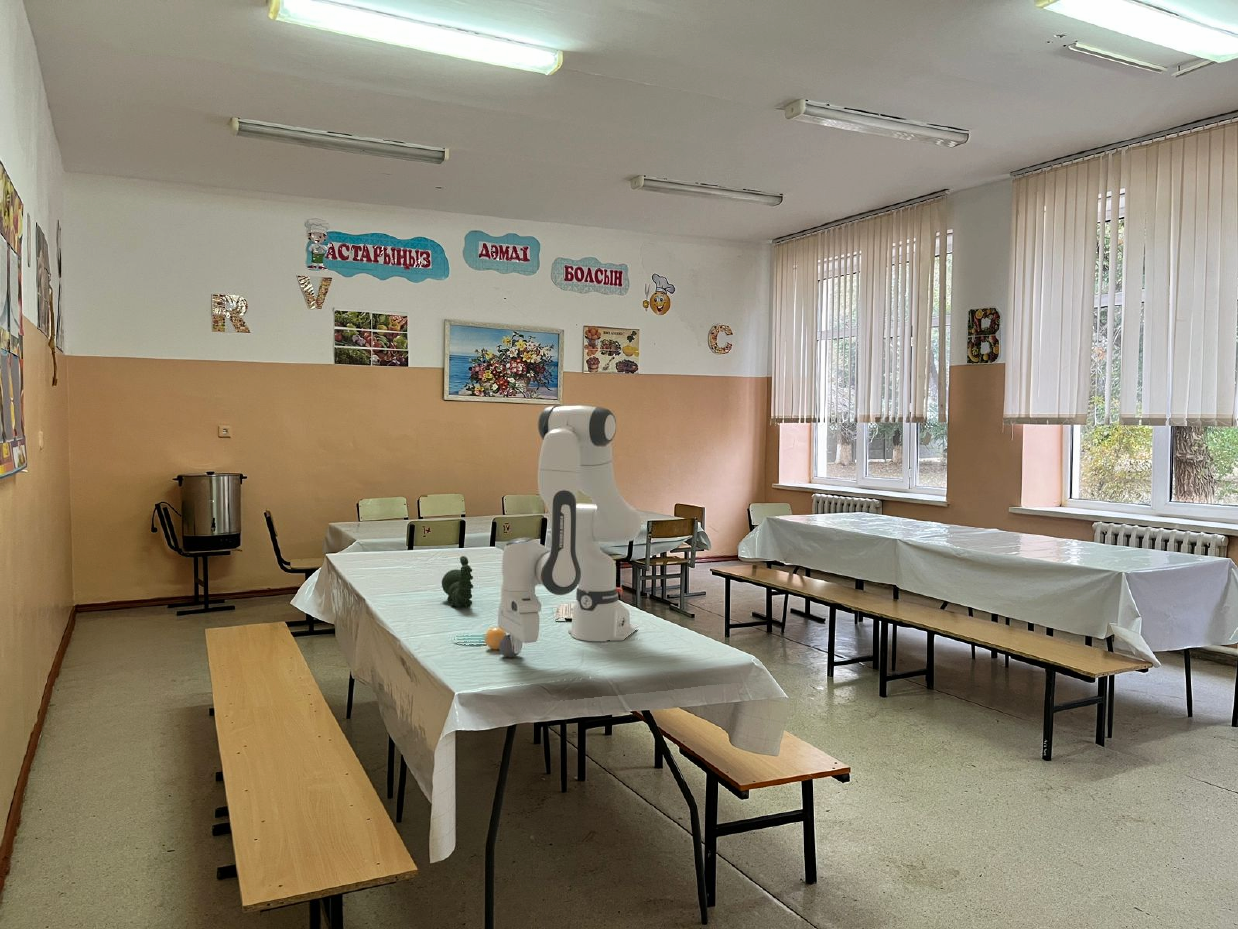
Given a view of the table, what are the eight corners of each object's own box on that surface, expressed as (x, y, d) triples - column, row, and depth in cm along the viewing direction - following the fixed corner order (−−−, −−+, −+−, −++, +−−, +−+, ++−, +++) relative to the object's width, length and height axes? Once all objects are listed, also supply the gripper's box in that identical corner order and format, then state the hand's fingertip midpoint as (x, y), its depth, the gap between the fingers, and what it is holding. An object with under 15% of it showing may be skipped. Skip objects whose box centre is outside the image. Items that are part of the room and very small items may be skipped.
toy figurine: (479, 615, 277) (463, 594, 300) (481, 559, 275) (465, 542, 298) (451, 617, 274) (437, 595, 296) (453, 560, 271) (438, 543, 294)
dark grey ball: (514, 657, 224) (510, 635, 226) (528, 653, 221) (523, 631, 222) (496, 660, 220) (492, 638, 222) (510, 656, 216) (506, 633, 218)
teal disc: (472, 631, 248) (472, 630, 248) (510, 638, 241) (510, 637, 241) (441, 641, 236) (441, 640, 236) (480, 648, 229) (480, 648, 229)
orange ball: (493, 645, 233) (494, 624, 233) (511, 648, 230) (511, 626, 230) (480, 650, 228) (480, 628, 227) (498, 653, 225) (498, 631, 224)
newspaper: (551, 609, 284) (552, 602, 284) (587, 613, 285) (587, 606, 285) (549, 624, 262) (550, 616, 261) (587, 628, 262) (588, 620, 262)
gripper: (492, 593, 225) (491, 644, 225) (520, 607, 207) (519, 663, 207) (514, 592, 228) (513, 642, 228) (544, 606, 210) (542, 660, 210)
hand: (516, 652), depth 218 cm, fingers closed
